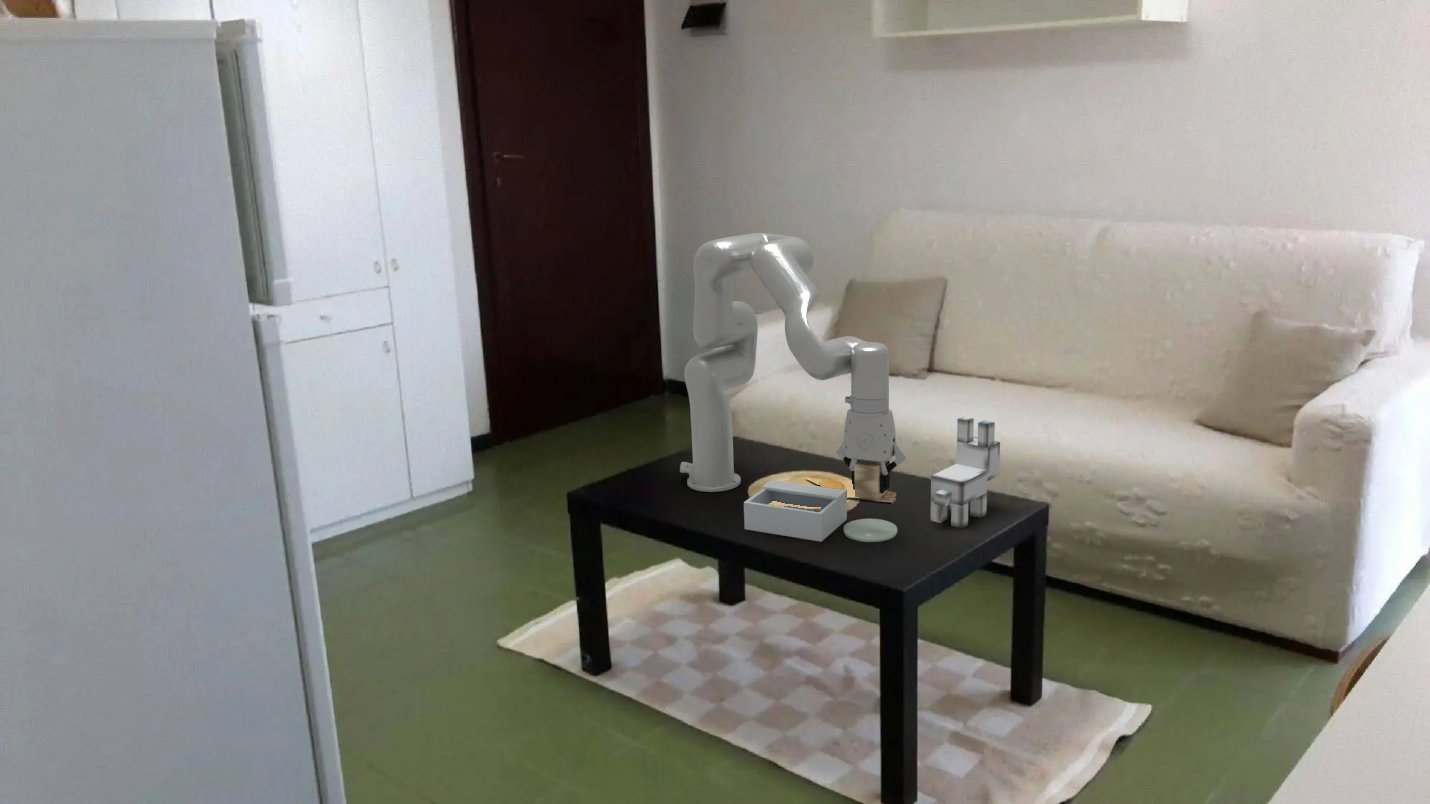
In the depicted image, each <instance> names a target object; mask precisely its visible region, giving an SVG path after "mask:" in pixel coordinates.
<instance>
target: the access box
mask: <svg viewBox="0 0 1430 804" xmlns="http://www.w3.org/2000/svg"><path fill="white" fill-rule="evenodd" d="M847 499H848V498H847V490H842V489H835V488H827V487H820V486H818V485H812V484H804V483H797V482H791V481H785V480H784V481H782V480H776V479H771V480H769V481H768V482H767V483H765V484H764V485H763V486H761V489H760V490H759V491H758V492H756V493H755V494H754V495H752V496H750V497H749V498H748V499H746V500H745V501H744V502H743V517H744V518H743V519H744V522H743V523H744V530H748V531H753V532H759V533H764V534H765V533H766V534H772V535H777V536H778V535H779V536H784V537H785V536H786V537H790V538H791V537H792V538H796V539H802V540H807V541H808V540H810V541H815V542H821V543H822V542H823V541H824V540H825V539H826V538H828V536H830V535H831V534H833V532H835V531H836V529H838V527H840V526H841V525H842V524H843V523H844V522H846V521H847V519H848V518H847V517H848V514H847V513H848V512H847V511H848V509H847V507H848V505H847V503H848V501H847ZM772 501H777V502H781V503H785V504H793V505H800V506H807V507H821V509H822V510H821V511H820V512H815V510H811V509H804V508H798V507H791V506H784V507H781V506H774V505H768V504H769V503H771V502H772Z"/></svg>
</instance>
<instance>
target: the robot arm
mask: <svg viewBox="0 0 1430 804" xmlns="http://www.w3.org/2000/svg"><path fill="white" fill-rule="evenodd" d="M813 265H814V253H813V251H812V248H811V246H810V245H809V244H808V243H807V242H806V241H805V240H804V239H802V238H800V237H796V236H792V235H781V234H776V233H775V234H774V233H768V232H767V233H766V232H755V233H748V234H742V235H741V234H740V235H734V236H733V235H732V236H727V237H726V236H725V237H722V238H721V237H720V238H717V239H713V240H710V241H707V242H705V243H703V244H702V245H701V246H699V247H698V249H697V251H696V253H695V255H694V258H693V276H694V284H695V285H694V292H695V293H694V303H693V304H694V305H693V307H694V309H693V323H692V324H693V328H692V329H693V338H694V341H695V343H696V345H697V346H698V347H700V348H703V349H714V350H710V351H707V352H702V353H699V354H697V355H695V356H693V357H692V358H691V359H689V361H687V363H686V365H685V367H684V370H683V371H684V374H683V375H684V381H685V386H686V390H687V395H688V400H689V408H690V409H689V410H690V425H691V445H692V446H691V447H692V449H691V450H692V451H691V452H692V463H690V462H688V461H681V463H680V465H679V467H680V468H679V472H680V473H684V474H688V476H689V477H687V480H686V483H687V486H688V487H689V488H690V489H692V490H695V491H699V492H705V493H707V492H708V493H717V492H726V491H729V490H733V489H735V488H737V487H738V486H739V485H740V484H741V481H742V480H741V479H742V478H741V476H740V475H739V474H738V473H736V472H735V468H734V442H733V441H734V440H733V439H734V437H733V415H732V409H731V405H730V403H729V401H728V399H727V397H726V396H725V394H724V392H725V391H727V390H730V389H734V388H738V387H740V386H741V387H742V386H743V385H746V384H747V383H748V382H750V381H751V379H752V378H753V376H754V374H755V370H756V359H757V345H758V344H757V343H758V333H759V330H758V329H759V326H758V319H757V316H756V313H755V311H754V309H753V308H752V307H751V306H750V305H749V304H748V303H746V302H745V301H741V300H740V301H738V300H736V301H733V298H734V296H733V295H734V290H733V285H732V283H731V280H730V278H729V277H735V276H740V275H746V274H751V273H754V274H755V275H756V277H757V278H758V279H759V281H760V282H761V283H762V285H763V286H764V288H765V289H766V291H767V292H768V293H769V295H770V297H772V298H773V300H774V301H775V303H776V305H777V306H778V307H779V309H780V310H781V311H782V314H784V333H785V339H786V344H787V347H788V348H789V350H790V352H791V354H792V355H793V356H794V358H795V359H796V361H797V362H798V364H799V366H800V367H801V368H802V369H803V370H804V372H806V374H808V375H809V376H810V377H812V378H813V379H815V380H817V381H826V380H830V379H833V378H837V377H839V376H845V375H848V374H850V385H851V386H850V393H851V394H850V395H849V396H845V398H844V403H845V404H849V405H850V408H849V409H848V410H847V411H846V415H845V421H844V429H843V430H844V433H843V443H842V444H841V445H840V446H839V447H838V449H836V451H835V454H836V455H837V456H838V457H840V458H841V459H842V460H843V462H844V463H845V465H847V467H848V468H849V471H851V480H852V484H853V489H854V490H855V476H854V464H855V463H856V462H858V461H859V460H864V461H872V462H879V464H880V468H881V475H880V493H884V492H885V491H886V490H888V489H889V488H890V486H891V482H890V481H891V473H890V472H892V471H893V470H894V469H895V468H896V467H897V466H899V465H901V464H902V463H904V462H905V461H906V459H907V457H906V456H905V454H904V453H903V452H902V451H901V449H900V447H899V446H898V445H897V431H896V424H895V419H894V414H893V410H891V409H890V352H889V348H888V346H887V345H886V344H885V343H881V342H874V341H866V340H863V339H861V338H858V337H857V336H853V335H852V336H851V335H847V336H846V335H845V336H841V337H837V338H833V339H829V340H825V341H820V339H819V338H818V337H817V335H816V334H815V333H814V330H813V329H812V328H811V326H810V324H809V319H808V313H809V312H810V311H811V310H812V309H813V308H814V307H815V305H816V303H817V302H818V300H819V297H820V293H819V290H818V288H817V287H816V286H815V284H814V283H813V282H812V281H811V279H810V278H809V276H808V275H807V273H808V272H810V270H811V269H812V267H813ZM722 347H723V348H722ZM718 348H719V349H718ZM892 457H894V458H895V459H894V460H893V461H892V462H891V459H892Z"/></svg>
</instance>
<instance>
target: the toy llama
mask: <svg viewBox="0 0 1430 804" xmlns="http://www.w3.org/2000/svg"><path fill="white" fill-rule="evenodd" d="M974 421H975V418H974V417H969V416H961V417H959V418H957V425H956V427H957V428H956V463H955V464H953V465H951V466H948V467H947V468H945V469H942V470H940V471H938V472H936V473H934V474H931V476H930V482H931V483H930V521H931V522H935V523H939V524H942V523H944V522H945V521H947V520H948V506H949V512H950V515H951V518H950V526H951V527H954V528H958V529H963V528H965V527H967V526H968V525H969V516H971V517H975V518H979V519H981V518H983V517H985V516H986V515H987V510H988V509H987V508H988V507H987V505H988V504H987V502H988V500H987V499H988V482H990V481H991V480H993V479H995V478H997V477H998V476H1000V465H1001V464H1000V459H1001V458H1000V456H1001V442H1000V441H997V440H995V430H996V429H995V426H996V422H995V421H991V420H982V421H980V422H978V423H977V437H976V436H974V430H975V429H974V427H975V425H974V424H975V422H974Z"/></svg>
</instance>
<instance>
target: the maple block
mask: <svg viewBox="0 0 1430 804" xmlns="http://www.w3.org/2000/svg"><path fill="white" fill-rule="evenodd" d="M880 475H881V468H880V464H879V462H872V461H864V460H859V461H858V462H856V463H855V464H854V476H855V497H861V498H868V499H876V500H878V499H879V498H880V497H881V496H883V495H884V494H885V493H886V491H885V492H884V493H880Z"/></svg>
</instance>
